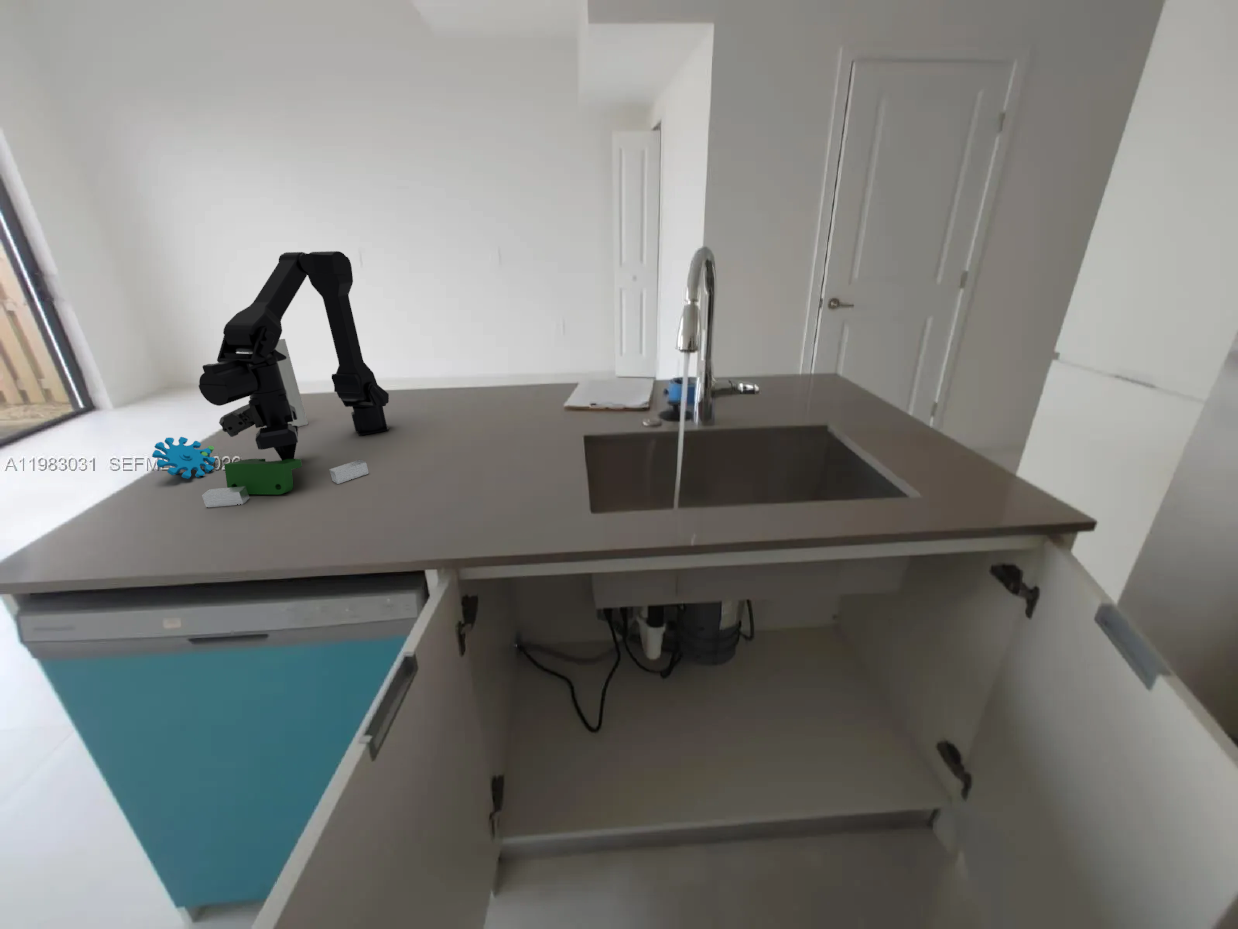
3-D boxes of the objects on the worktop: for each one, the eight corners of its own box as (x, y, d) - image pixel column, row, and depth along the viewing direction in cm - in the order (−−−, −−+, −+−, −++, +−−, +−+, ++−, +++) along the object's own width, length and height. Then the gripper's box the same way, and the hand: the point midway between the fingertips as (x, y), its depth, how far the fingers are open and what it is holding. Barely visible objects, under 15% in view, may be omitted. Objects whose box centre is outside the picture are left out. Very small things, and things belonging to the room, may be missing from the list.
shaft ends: (367, 469, 109) (364, 458, 108) (370, 477, 105) (367, 465, 105) (207, 502, 98) (203, 490, 97) (204, 512, 94) (200, 500, 93)
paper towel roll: (265, 429, 133) (238, 341, 124) (287, 421, 138) (263, 336, 129) (286, 433, 130) (260, 342, 122) (308, 424, 135) (284, 337, 127)
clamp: (299, 505, 105) (312, 462, 104) (278, 513, 100) (292, 467, 98) (242, 480, 106) (254, 437, 104) (217, 487, 100) (230, 441, 98)
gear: (177, 480, 103) (141, 440, 103) (166, 499, 105) (131, 460, 105) (232, 464, 113) (200, 428, 113) (221, 482, 115) (189, 447, 115)
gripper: (220, 384, 105) (244, 459, 111) (208, 410, 90) (237, 494, 96) (286, 376, 110) (306, 448, 116) (285, 398, 95) (308, 480, 101)
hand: (289, 466), depth 107 cm, fingers closed
